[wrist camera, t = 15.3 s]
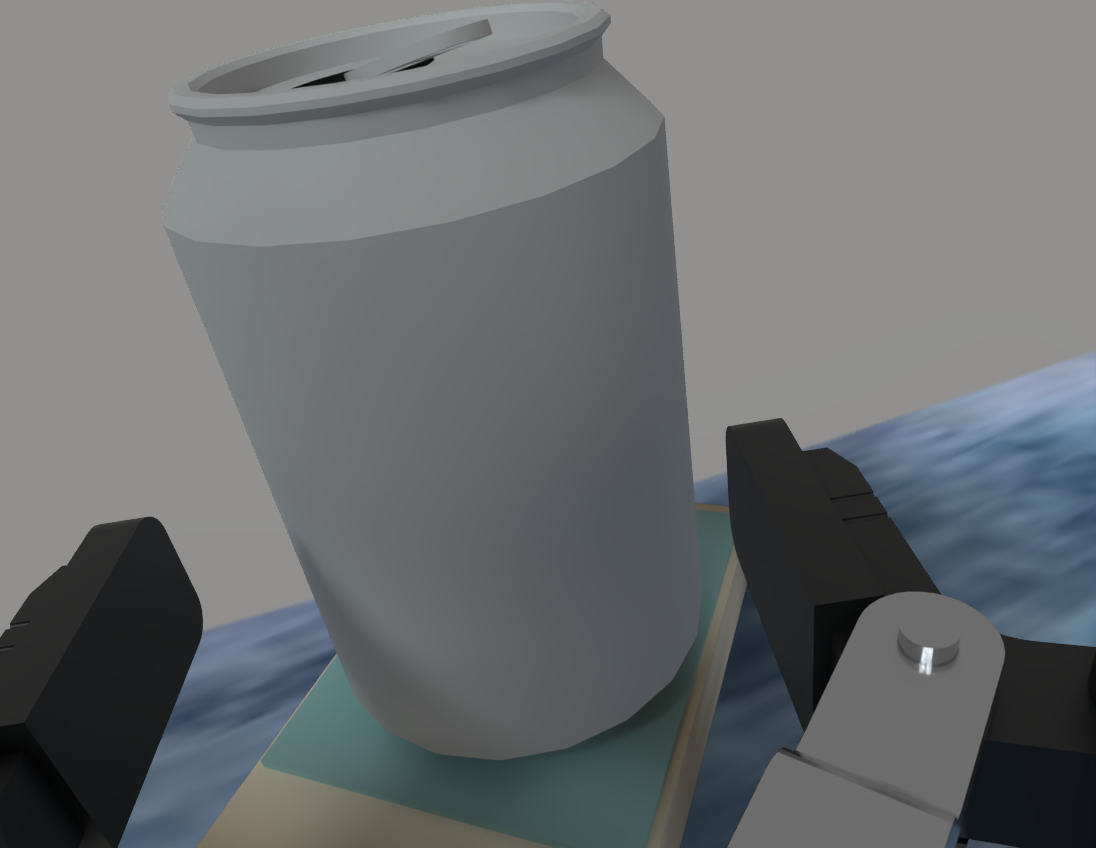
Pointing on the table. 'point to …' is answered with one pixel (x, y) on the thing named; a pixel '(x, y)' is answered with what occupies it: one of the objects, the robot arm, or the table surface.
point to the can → (457, 360)
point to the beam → (495, 762)
